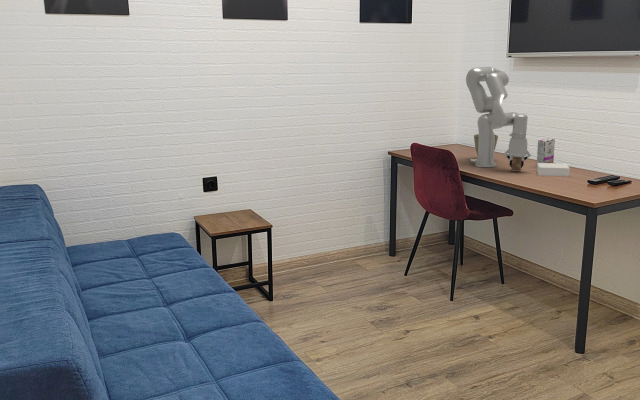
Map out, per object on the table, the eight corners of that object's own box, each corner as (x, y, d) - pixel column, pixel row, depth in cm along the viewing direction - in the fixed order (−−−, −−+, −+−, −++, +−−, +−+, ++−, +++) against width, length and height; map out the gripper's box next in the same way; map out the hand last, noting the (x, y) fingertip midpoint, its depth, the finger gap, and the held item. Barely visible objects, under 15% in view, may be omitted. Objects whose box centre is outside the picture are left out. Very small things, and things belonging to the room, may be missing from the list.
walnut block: (511, 170, 337) (512, 158, 335) (511, 168, 342) (512, 156, 340) (520, 170, 335) (521, 158, 334) (520, 168, 340) (521, 157, 338)
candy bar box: (545, 164, 356) (547, 138, 353) (553, 166, 353) (555, 139, 349) (535, 167, 350) (537, 140, 346) (543, 168, 346) (545, 141, 342)
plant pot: (468, 160, 376) (469, 136, 373) (479, 157, 387) (480, 133, 383) (490, 163, 367) (491, 137, 363) (500, 159, 377) (502, 135, 374)
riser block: (538, 176, 327) (539, 167, 326) (536, 171, 340) (537, 162, 339) (569, 177, 323) (569, 168, 322) (566, 172, 336) (566, 163, 335)
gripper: (503, 136, 333) (500, 167, 338) (534, 138, 327) (531, 169, 332) (503, 134, 339) (501, 165, 344) (534, 135, 334) (531, 167, 339)
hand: (516, 167), depth 338 cm, fingers closed on walnut block, 5 cm apart
